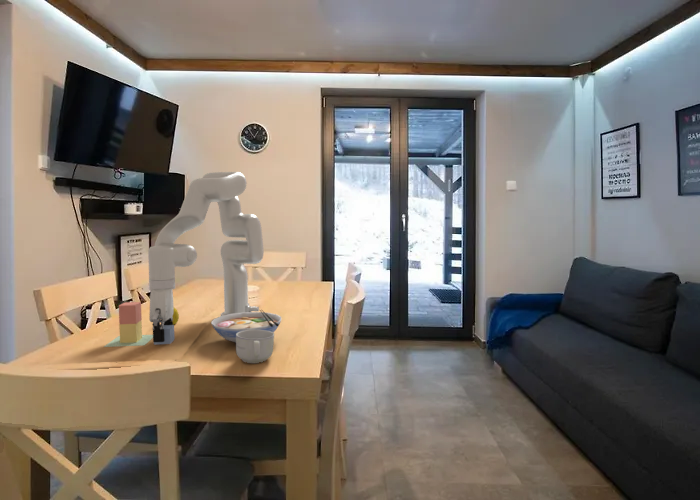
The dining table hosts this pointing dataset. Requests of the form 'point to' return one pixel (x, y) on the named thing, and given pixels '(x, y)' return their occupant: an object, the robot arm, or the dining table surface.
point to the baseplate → (142, 341)
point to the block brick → (130, 313)
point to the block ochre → (130, 332)
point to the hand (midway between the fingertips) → (163, 337)
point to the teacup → (254, 345)
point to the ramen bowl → (245, 323)
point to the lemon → (175, 316)
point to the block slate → (167, 334)
